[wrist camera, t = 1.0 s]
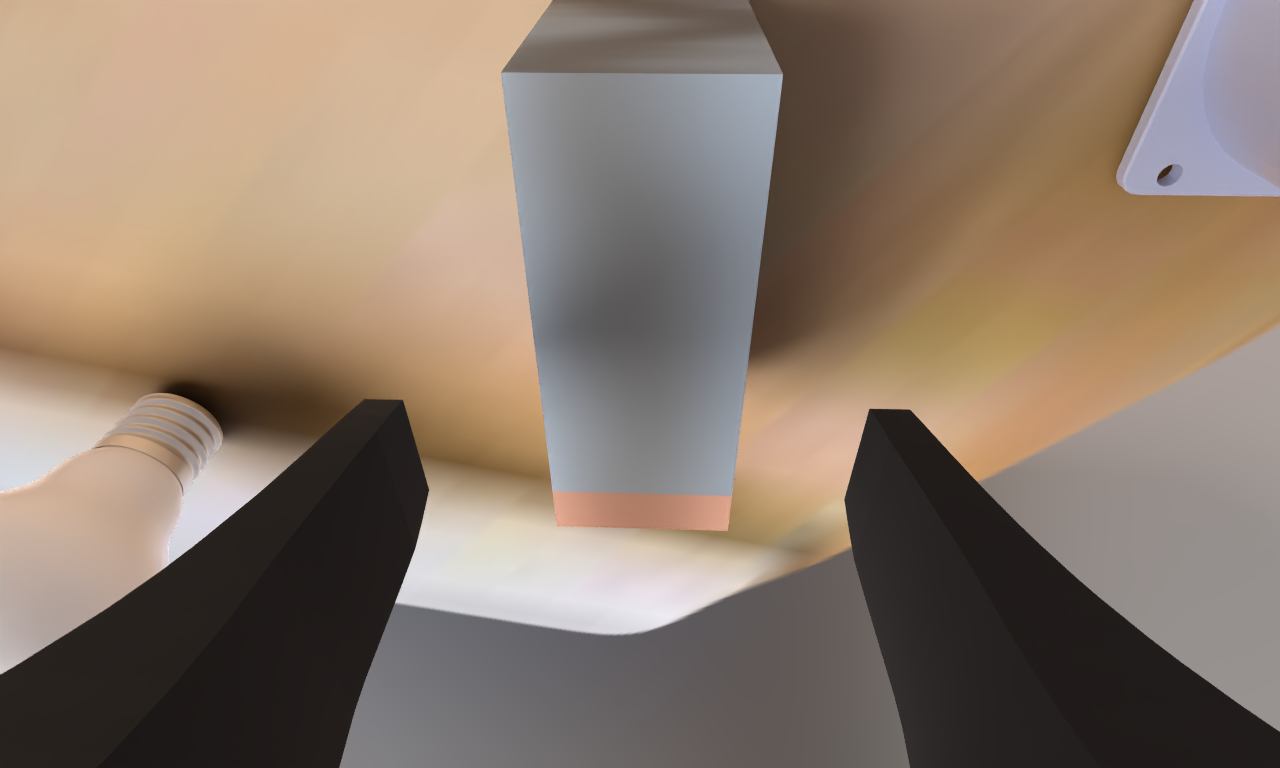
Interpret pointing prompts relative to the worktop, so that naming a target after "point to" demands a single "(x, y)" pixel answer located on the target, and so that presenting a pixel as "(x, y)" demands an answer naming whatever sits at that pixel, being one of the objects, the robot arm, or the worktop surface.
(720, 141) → the painted block
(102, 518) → the lightbulb
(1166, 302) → the worktop surface
